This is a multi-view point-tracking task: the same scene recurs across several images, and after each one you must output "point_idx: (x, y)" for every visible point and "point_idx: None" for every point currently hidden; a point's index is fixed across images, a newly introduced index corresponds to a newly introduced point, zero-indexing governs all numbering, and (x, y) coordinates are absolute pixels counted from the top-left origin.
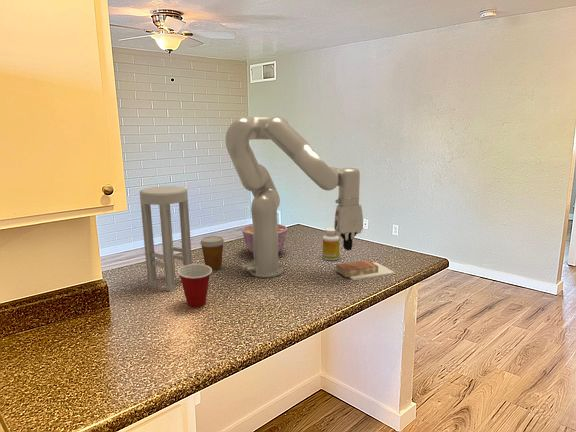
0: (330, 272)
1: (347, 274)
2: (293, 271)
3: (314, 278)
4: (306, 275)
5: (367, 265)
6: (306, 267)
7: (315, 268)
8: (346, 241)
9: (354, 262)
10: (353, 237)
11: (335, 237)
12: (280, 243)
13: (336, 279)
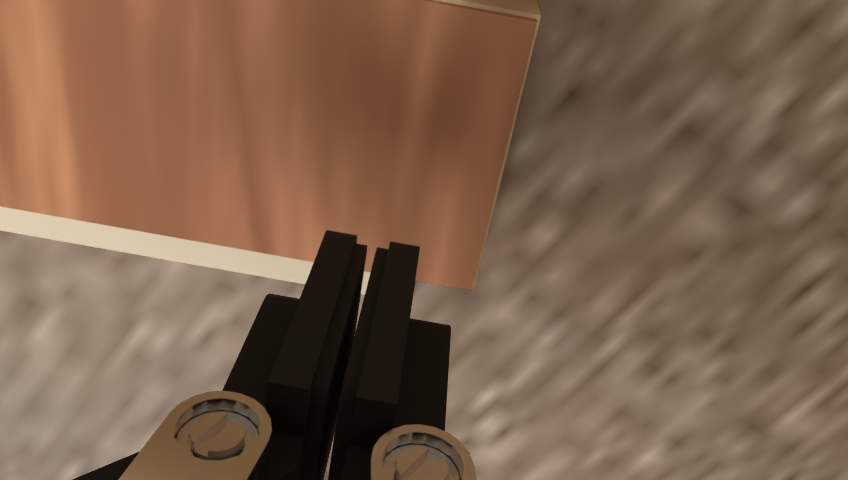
0: (536, 262)
1: (512, 1)
2: (823, 464)
3: (826, 218)
4: (817, 328)
5: (103, 30)
6: (638, 475)
7: (585, 418)
8: (413, 420)
9: (213, 224)
10: (173, 438)
11: None
12: None
13: (645, 48)
